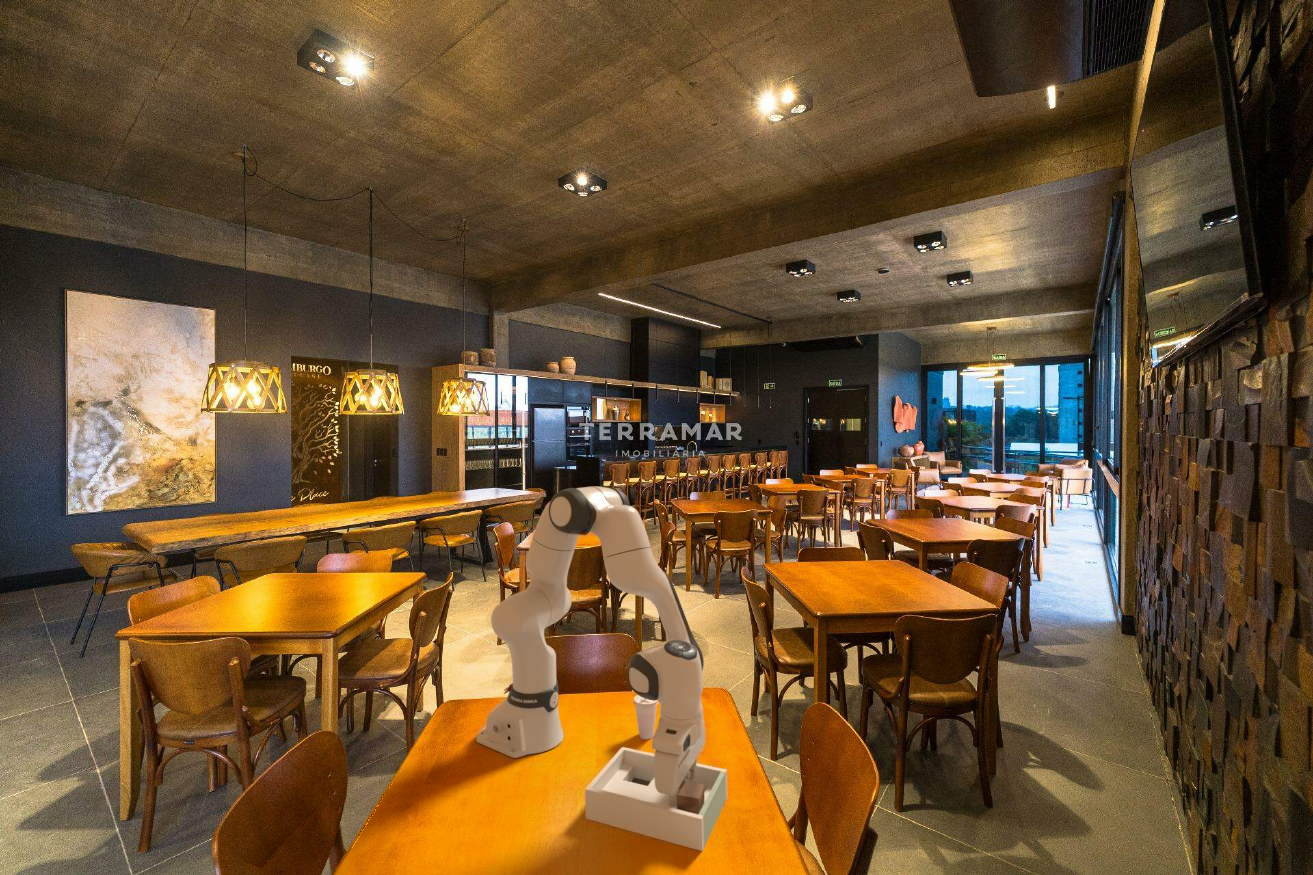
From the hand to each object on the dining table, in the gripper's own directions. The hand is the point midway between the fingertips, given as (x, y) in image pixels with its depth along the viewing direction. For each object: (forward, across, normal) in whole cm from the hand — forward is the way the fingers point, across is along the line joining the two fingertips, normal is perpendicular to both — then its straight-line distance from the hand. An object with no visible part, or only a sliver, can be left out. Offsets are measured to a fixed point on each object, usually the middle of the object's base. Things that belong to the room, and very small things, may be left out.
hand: (682, 790), depth 118 cm
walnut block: (+2, +4, +3) cm, 5 cm away
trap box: (+5, 0, -5) cm, 7 cm away
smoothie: (+5, -25, -20) cm, 32 cm away
